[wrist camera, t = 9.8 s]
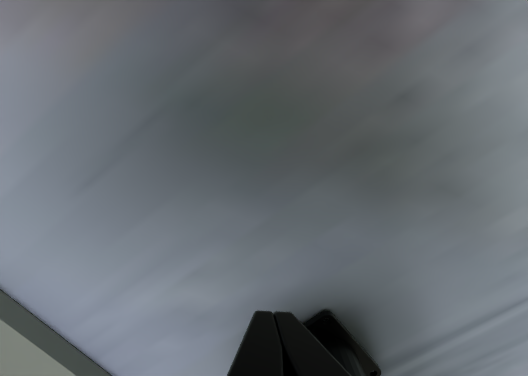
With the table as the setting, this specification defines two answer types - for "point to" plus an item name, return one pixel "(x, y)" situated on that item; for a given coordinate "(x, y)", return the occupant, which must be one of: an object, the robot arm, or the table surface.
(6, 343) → the slate base
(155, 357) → the table surface
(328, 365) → the robot arm
